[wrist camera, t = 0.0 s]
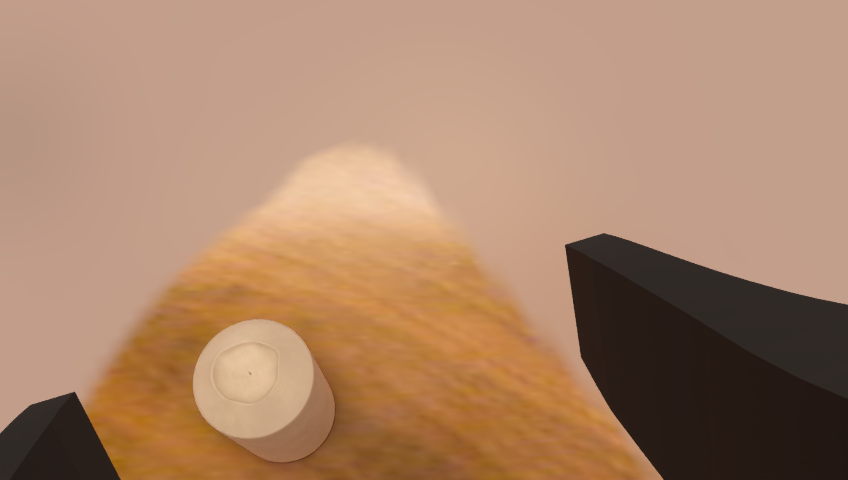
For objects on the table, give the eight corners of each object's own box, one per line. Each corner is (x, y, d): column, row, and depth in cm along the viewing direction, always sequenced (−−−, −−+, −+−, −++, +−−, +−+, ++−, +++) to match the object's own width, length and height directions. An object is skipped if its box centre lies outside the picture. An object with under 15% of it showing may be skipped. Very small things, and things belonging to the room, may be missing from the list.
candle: (315, 348, 45) (283, 290, 35) (351, 437, 43) (327, 401, 33) (223, 387, 44) (167, 338, 35) (255, 480, 42) (205, 455, 33)
